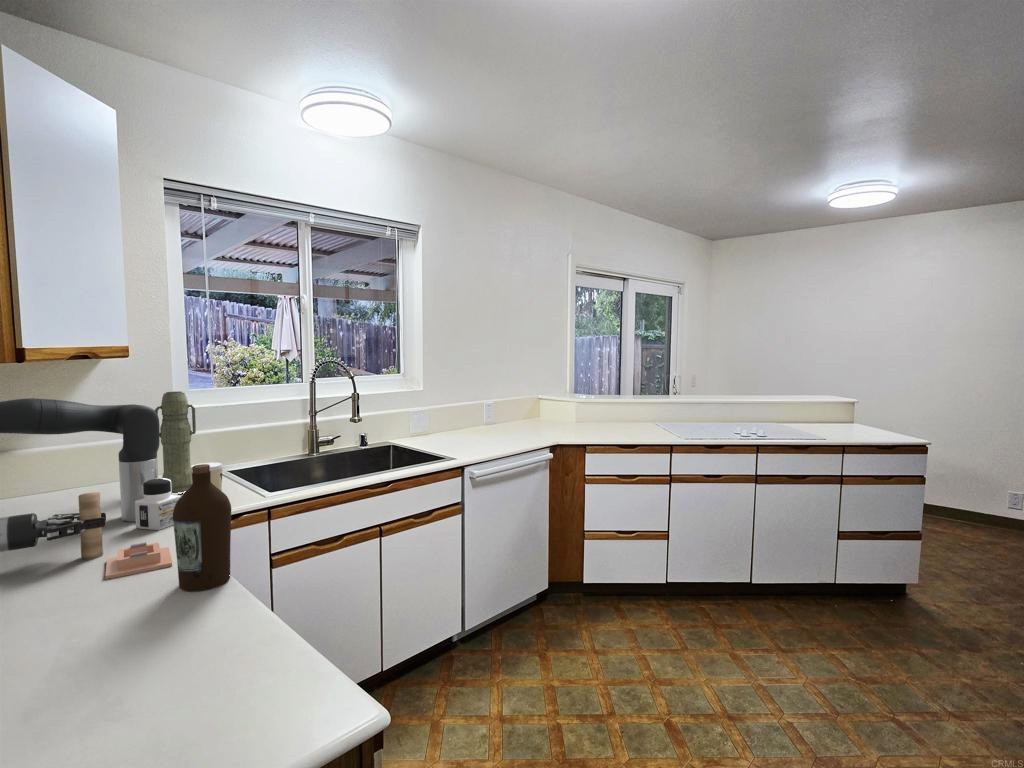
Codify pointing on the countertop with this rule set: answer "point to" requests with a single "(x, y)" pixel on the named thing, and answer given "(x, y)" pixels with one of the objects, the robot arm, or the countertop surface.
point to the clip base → (138, 560)
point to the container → (156, 505)
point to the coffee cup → (213, 473)
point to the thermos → (176, 439)
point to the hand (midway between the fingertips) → (105, 519)
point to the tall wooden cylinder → (90, 537)
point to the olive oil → (202, 534)
